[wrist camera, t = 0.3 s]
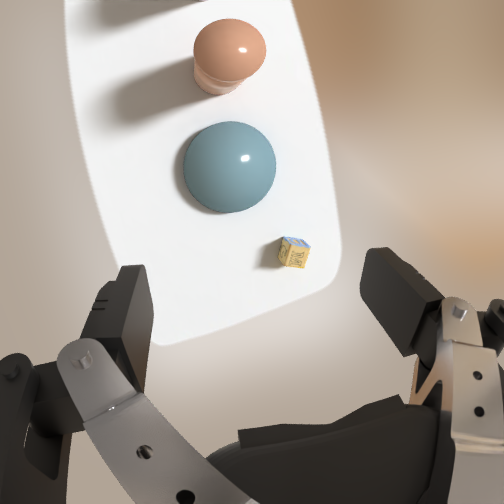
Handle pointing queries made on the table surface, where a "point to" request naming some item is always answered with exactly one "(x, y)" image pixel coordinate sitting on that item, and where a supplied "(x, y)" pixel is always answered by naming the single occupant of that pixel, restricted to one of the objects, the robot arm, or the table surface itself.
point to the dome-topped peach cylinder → (227, 55)
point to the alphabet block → (293, 252)
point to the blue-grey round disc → (229, 167)
